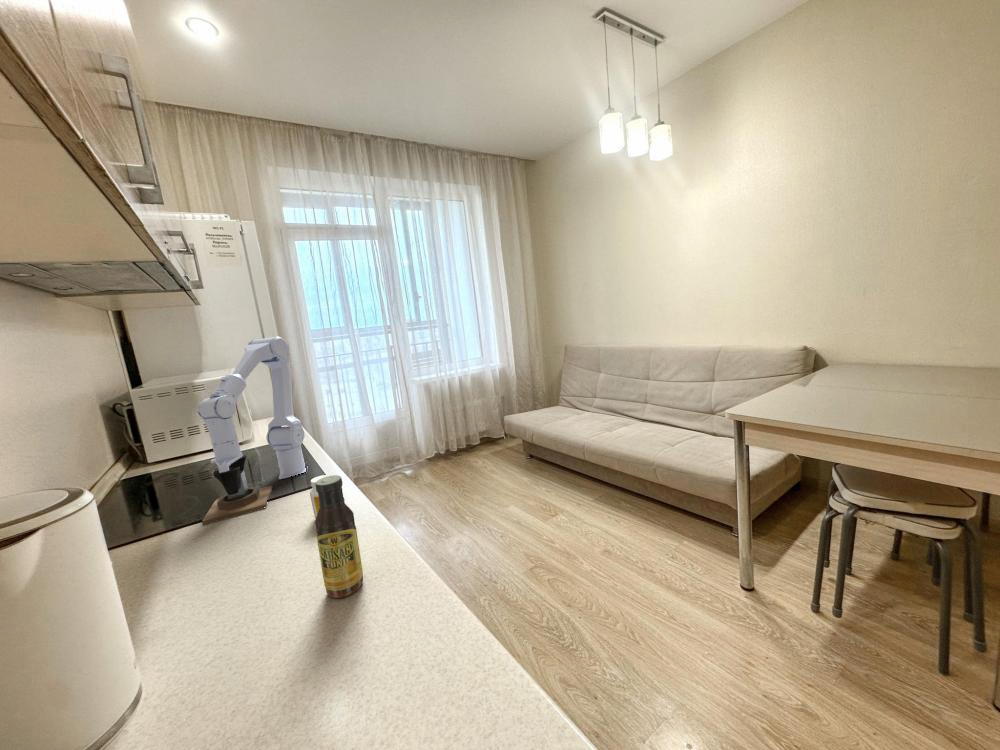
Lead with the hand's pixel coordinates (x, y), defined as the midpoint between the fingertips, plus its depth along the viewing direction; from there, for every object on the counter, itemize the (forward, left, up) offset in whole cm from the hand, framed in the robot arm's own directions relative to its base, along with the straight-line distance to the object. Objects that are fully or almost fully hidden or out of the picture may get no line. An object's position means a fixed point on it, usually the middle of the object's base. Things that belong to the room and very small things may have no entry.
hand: (236, 488), depth 106 cm
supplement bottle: (+23, +22, -5) cm, 32 cm away
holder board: (0, 0, -5) cm, 5 cm away
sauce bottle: (+54, +25, -5) cm, 60 cm away
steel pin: (0, 0, -4) cm, 4 cm away
